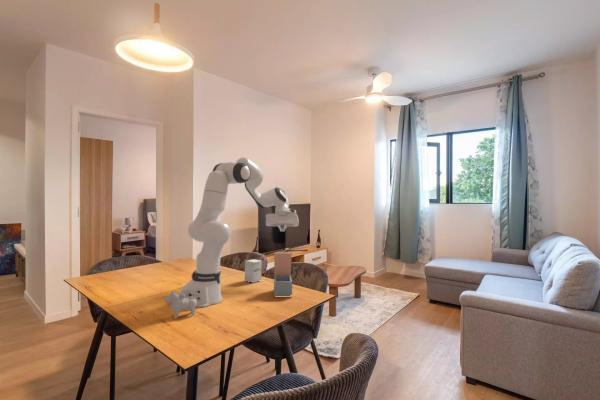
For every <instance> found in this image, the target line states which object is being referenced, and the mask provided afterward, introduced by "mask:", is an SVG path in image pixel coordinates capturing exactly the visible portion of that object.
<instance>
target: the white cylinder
mask: <svg viewBox="0 0 600 400" xmlns="http://www.w3.org/2000/svg"><path fill="white" fill-rule="evenodd" d="M262 263H263V261H262V260H261V259H255V258H253V259H249V260H245V261H244V282H245V281H248V282H247V283H249V282H252V283H251V284H254V283H253V282H255V283H258V282H257V281H259V280H261V281H262V269H263V268H262V266H263V265H262ZM259 282H260V281H259Z"/></svg>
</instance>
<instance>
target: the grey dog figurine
mask: <svg viewBox="0 0 600 400" xmlns="http://www.w3.org/2000/svg"><path fill="white" fill-rule="evenodd" d="M181 296H183V297H181ZM163 298H164V300H165V302H166V303H167V304H168V303H169V307H170V309H171V310H172V311H174V313H173V316H174V317H173V319H174V318H176V319H178V316H179V313H180V311H187V310H189V311H190V312H189V313H190V314H191V315H190V317H191V318H192V316H193V317H194V316H195V311H196V308H197V307H196V305H197V301H196V298H195V297H190V298H185V294H180V295H179V292H176V291H175V290H172V291H171V293H170V294H168V295H165V296H164V297H163Z"/></svg>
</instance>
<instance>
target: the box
mask: <svg viewBox="0 0 600 400" xmlns="http://www.w3.org/2000/svg"><path fill="white" fill-rule="evenodd" d="M291 275H292V274H291ZM291 275H274V274H273V277H274V278H273V297H274V296H290V295H292V296H293V279H292V276H291Z"/></svg>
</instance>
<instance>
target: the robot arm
mask: <svg viewBox="0 0 600 400" xmlns="http://www.w3.org/2000/svg"><path fill="white" fill-rule="evenodd" d="M263 181H264V173H263V171H262V169H261V168H260V167H259V166H258V165H257V164H256V163H255V162H253V161H252V160H251V159H249V158H247V157H240V158H238V159H237V160H236V161H235V162H232V161H230V162H220V163H218V164H216V165H215V166H214V167H213V169H212V170H211V172H209V174H208V177H207V178H206V182H205V185H204V189H203V194H202V200H201V205H200V208H199V211H198V213H197V215H196V217H195V218H194V220H193V221H192V222H191V223H190V224H189V225H188V228H187V233H188V236H189V238H191V239H193V240H194V241H197V242H200V243H202V247H201V250H200V252H199V253H197V255H196V265H195V266H196V268H195V270H193V271H192V273H191V280H189V281H187V283H185V284H184V285H183V286H182V287H181V289H180V290H179V292H178V295H180V294H185V298H190V297H195V298H196V301H197V305H196V307H195V308H207V307H209V306H211V305H215V304H218V303H221V302H222V301H223V300H224V298H223V296H222V295H223V294H222V290H221V281H222V280H221V279H222V274H221V272H222V271H221V257H222V252H223V249H224V246H225V245H226V243H228V241H230V239H231V236H232V230H231V227H230V226H229V225H228V224H227V223H225V222H222V221H218V218H219V216H220V215H221V214H222V213H223V212H224V211H225V207H226V201H227V195H228V186H229V184H243V183H244V188H245V190H246V191H247V193H249V195H250V197H251V198H252V199H253V200H254V203H255V204H256V205H257V207H258V208H259V209H261V210H266V209H268V208H270V207H272V206H274V205H275V210H274V212H272V213H271V212H268V213H266V214H265V226H267V227H278V229H279V232H285V231H286V229H287V228H288V227H298V226H300V225H299V224H300V220H299V216H298V214H297V210H296V209H292V208H289V207H290V202H289V196H288V195H287V193H286V192H285V191H284V190H283V189H282V188H280V187H276V186H275V187H274V188H271V189H269V190H267V191H265V192H263V193H260V192H259V191H258V190H257V188H258V187H259V186H260V185H261V184H262V183H263ZM181 297H183V296H181Z"/></svg>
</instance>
